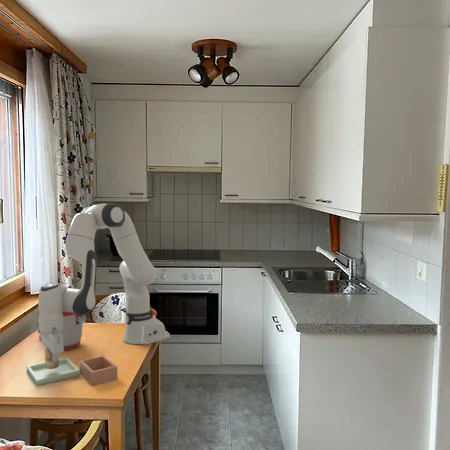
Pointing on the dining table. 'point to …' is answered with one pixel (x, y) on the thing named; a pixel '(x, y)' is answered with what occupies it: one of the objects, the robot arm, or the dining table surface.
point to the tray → (52, 372)
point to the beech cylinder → (50, 360)
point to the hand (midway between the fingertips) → (52, 358)
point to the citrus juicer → (71, 329)
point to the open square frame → (99, 375)
